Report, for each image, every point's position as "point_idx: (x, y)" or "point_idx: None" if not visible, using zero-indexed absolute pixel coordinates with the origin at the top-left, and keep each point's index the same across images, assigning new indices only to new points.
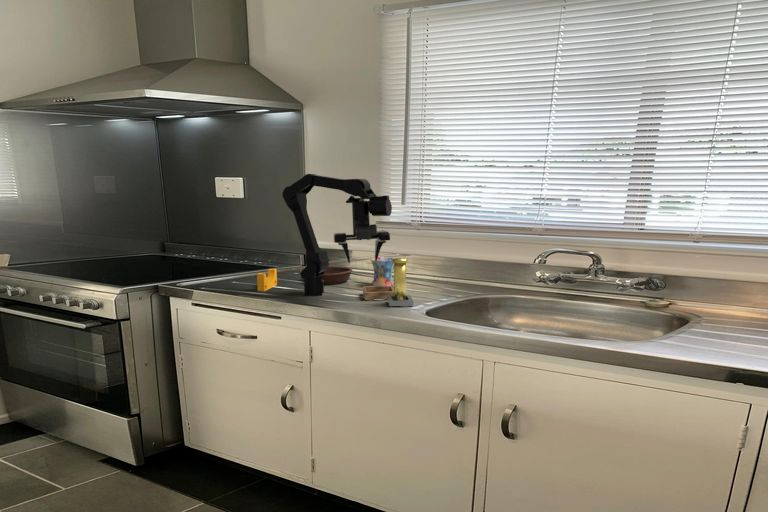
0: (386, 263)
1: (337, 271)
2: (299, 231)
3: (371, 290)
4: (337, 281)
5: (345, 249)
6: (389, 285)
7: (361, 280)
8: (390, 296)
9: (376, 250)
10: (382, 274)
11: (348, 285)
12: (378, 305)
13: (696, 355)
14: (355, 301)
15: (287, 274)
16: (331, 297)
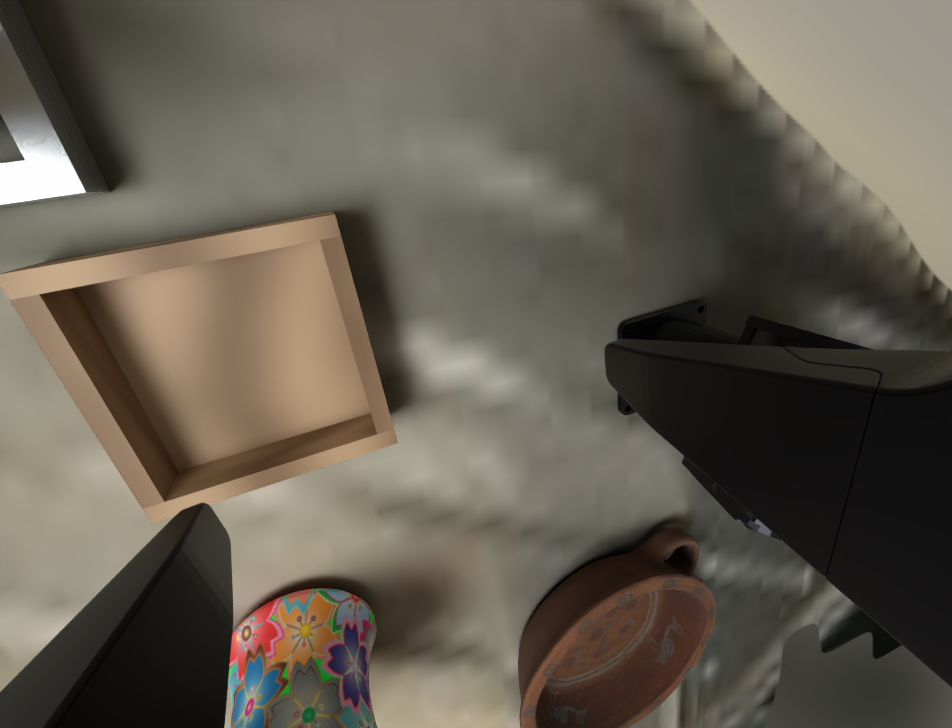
0: None
1: (583, 711)
2: None
3: (328, 433)
4: (566, 587)
5: (892, 361)
6: (242, 624)
7: (454, 688)
8: (28, 156)
9: (56, 708)
10: (291, 682)
11: (504, 578)
12: (151, 21)
13: None
14: (399, 185)
15: (736, 643)
16: (566, 291)
